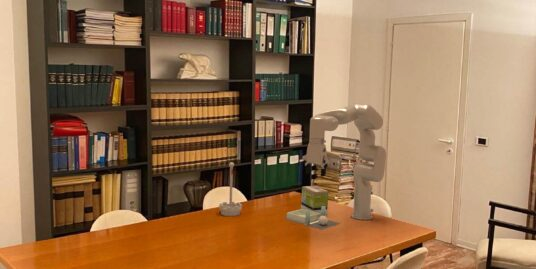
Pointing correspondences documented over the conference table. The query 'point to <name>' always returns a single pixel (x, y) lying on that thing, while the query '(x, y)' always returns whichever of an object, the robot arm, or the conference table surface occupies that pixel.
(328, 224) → the mat
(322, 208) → the post far
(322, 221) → the ball
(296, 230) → the conference table surface
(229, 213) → the flag stand
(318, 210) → the tea box
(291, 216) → the tray
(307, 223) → the post near
